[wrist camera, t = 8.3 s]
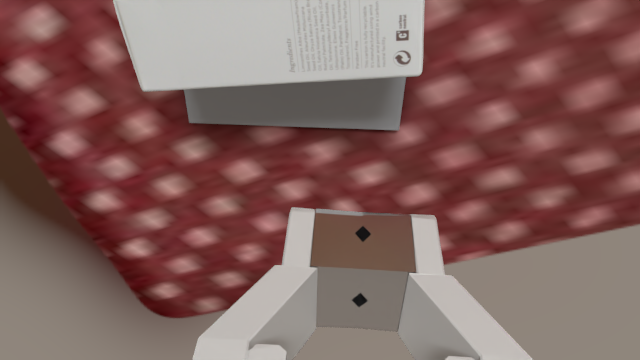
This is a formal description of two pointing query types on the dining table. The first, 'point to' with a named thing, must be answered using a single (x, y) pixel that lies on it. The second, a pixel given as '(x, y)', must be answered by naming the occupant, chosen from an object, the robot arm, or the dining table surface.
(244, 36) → the skincare box
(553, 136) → the dining table surface
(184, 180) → the dining table surface
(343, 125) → the mat
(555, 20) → the dining table surface
